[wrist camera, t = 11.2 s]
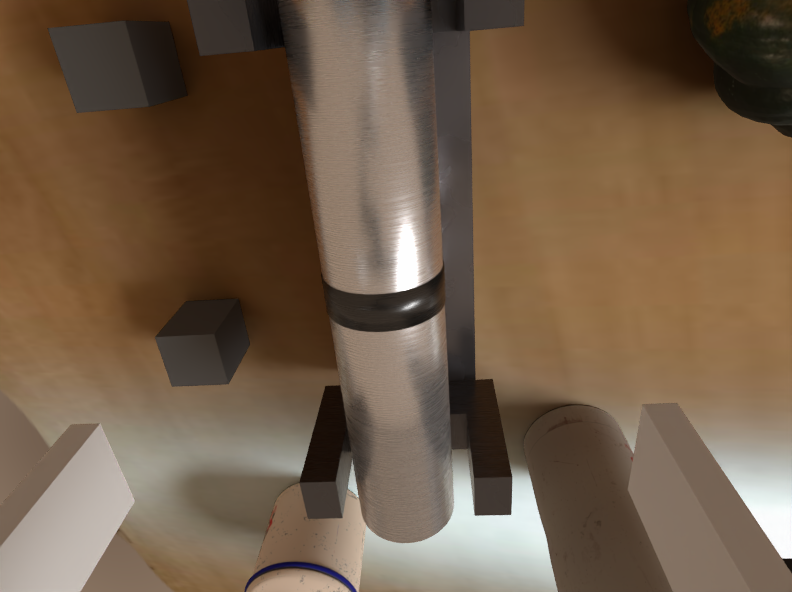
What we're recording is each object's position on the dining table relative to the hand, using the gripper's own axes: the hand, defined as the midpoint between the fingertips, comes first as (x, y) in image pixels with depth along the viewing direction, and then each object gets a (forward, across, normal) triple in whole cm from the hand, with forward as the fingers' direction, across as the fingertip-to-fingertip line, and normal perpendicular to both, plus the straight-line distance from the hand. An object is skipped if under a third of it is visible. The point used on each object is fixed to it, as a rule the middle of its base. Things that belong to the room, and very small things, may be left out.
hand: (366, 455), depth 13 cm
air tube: (+12, 0, 0) cm, 13 cm away
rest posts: (+24, -15, 0) cm, 28 cm away
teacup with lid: (+24, -10, -31) cm, 40 cm away
